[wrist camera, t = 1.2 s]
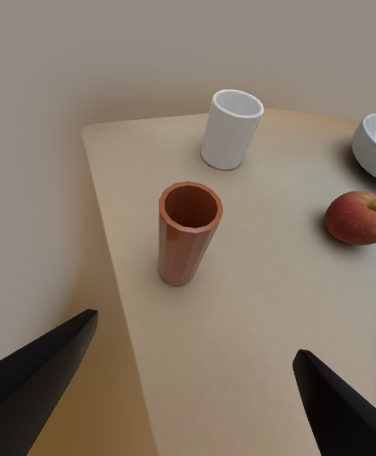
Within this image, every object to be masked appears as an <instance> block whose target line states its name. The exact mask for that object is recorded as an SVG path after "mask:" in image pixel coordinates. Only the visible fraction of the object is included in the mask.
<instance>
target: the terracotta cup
mask: <svg viewBox="0 0 376 456" xmlns="http://www.w3.org/2000/svg"><path fill="white" fill-rule="evenodd" d="M222 213H223V207H222V204H221V200H220V198H219V197H218V196H217V195H216V194H215V192H214V191H213V190H212V189H210V188H208V187H206V186H204V185H202V184H200V183H194V182H187V181H186V182H181V183H175V184H173V185H172V186H170V187H168V188H167V189H165V190H164V192H163V194H162V195H161V197H160V199H159V251H158V266H159V274H160V277H161V278H162V280H163V281H164V282H166V283H167V284H169V285H171V286H183V285H185V284H187V283H188V282H189V281H190V280H191V279H192V278H193V276H194V274H195V272H196V270H197V268H198V266H199V264H200V262H201V260H202V258H203V256H204V254H205V251H206V249H207V247H208V245H209V243H210V241H211V239H212V237H213V235H214V233H215V231H216V229H217V227H218V224H219V222H220V220H221V217H222Z"/></svg>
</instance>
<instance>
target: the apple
mask: <svg viewBox="0 0 376 456" xmlns="http://www.w3.org/2000/svg"><path fill="white" fill-rule="evenodd" d="M325 223H326V226H327V229H328V231H329V233H330V234H331V235H333V236H334V237H335V238H337V239H339V240H341V241H344V242H347V243H350V244H355V245H369V244H373V243H376V195H374V194H372V193H369V192H365V191H352V192H348V193H346V194H343V195H341V196H339V197H338V198H337V199H335V200H334V201H333V202H332V203H331V204H330V206H329V207H328V209H327V212H326V215H325Z"/></svg>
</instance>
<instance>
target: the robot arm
mask: <svg viewBox="0 0 376 456" xmlns="http://www.w3.org/2000/svg"><path fill="white" fill-rule="evenodd" d="M97 323H98V311H97V310H94V309H87V310H85V311H84V312H82V313H80V314H78V315H77V316H75V317H73V318H72V319H70V320H69V321H67V322H65V323H63V324H61V325H60V326H58V327H56V328H55V329H53V330H51V331H49V332H48V333H46V334H44V335H43V336H41V337H39V338H38V339H36V340H34V341H33V342H31V343H29V344H27V345H26V346H24V347H22V348H21V349H19V350H17V351H15V352H14V353H12V354H10V355H9V356H7V357H5V358H4V359H2V360H0V456H26V455H27V454H28V452H29V450H30V448H31V447H32V445H33V443H34V442H35V440H36V438H37V437H38V435H39V433H40V432H41V430H42V428H43V427H44V425H45V423H46V422H47V420H48V418H49V416H50V415H51V413H52V411H53V410H54V408H55V406H56V405H57V403H58V401H59V400H60V398H61V396H62V395H63V393H64V391H65V390H66V388H67V386H68V385H69V383H70V381H71V379H72V378H73V376H74V374H75V372H76V371H77V369H78V367H79V365H80V363H81V361H82V359H83V356H84V354H85V352H86V350H87V348H88V346H89V344H90V342H91V340H92V337H93V336H94V333H95V331H96V328H97ZM292 366H293V371H294V375H295V378H296V382H297V385H298V389H299V392H300V396H301V399H302V403H303V406H304V409H305V412H306V415H307V418H308V421H309V423H310V426H311V429H312V432H313V434H314V437H315V440H316V442H317V445H318V448H319V450H320V453H321V456H376V408H375V407H374V406H372V405H371V404H370V403H369V402H368V401H367V400H366V399H364V398H363V397H362V396H361V395H360V394H359V393H358V392H356V391H355V390H354V389H353V388H352V387H351V386H350V385H348V384H347V383H346V382H345V381H344V380H343V379H341V378H340V377H339V376H338V375H337V374H336V373H335V372H333V371H332V370H331V369H330V368H329V367H328V366H327V365H325V364H324V363H323V362H322V361H321V360H320V359H319V358H317V357H316V356H315V355H314V354H313V353H312V352H310V351H308V350H303V349H300V350H298V352H297V354H296V356H295V359H294V361H293V365H292Z"/></svg>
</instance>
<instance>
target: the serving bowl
mask: <svg viewBox="0 0 376 456" xmlns="http://www.w3.org/2000/svg"><path fill="white" fill-rule="evenodd" d="M352 149H353V153H354V155H355V157H356V159H357V161H358V162H359V163H360V165H361V166H362V167H363V168H364V169H365V170H366V171H367V172H368V173H370V174H371V175H372V176H374V177H375V178H376V114H371V115H368V116H366V117H365V118H364V119H363V120H362V122H361V123H360V124H359V126H358V128H357V129H356V131H355V133H354V136H353V141H352Z"/></svg>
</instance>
